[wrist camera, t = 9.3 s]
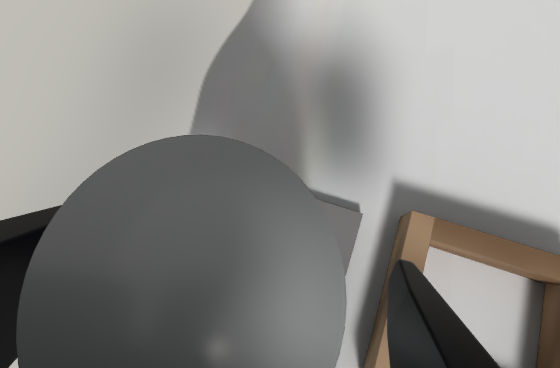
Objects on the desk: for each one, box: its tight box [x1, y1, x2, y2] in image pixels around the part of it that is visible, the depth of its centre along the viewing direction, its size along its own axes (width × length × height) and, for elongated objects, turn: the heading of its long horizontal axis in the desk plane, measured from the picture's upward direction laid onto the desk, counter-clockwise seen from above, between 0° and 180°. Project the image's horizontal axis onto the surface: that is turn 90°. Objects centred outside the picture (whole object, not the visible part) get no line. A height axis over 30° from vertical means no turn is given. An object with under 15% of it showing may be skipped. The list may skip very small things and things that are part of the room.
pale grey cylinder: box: [16, 135, 346, 368], centre depth 10 cm, size 5×5×13 cm
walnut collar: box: [364, 211, 560, 368], centre depth 15 cm, size 9×9×2 cm
